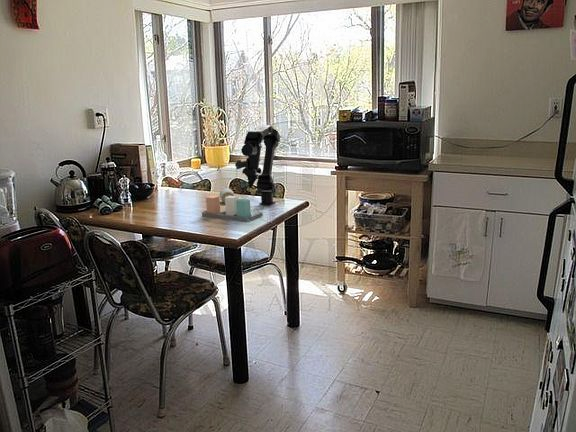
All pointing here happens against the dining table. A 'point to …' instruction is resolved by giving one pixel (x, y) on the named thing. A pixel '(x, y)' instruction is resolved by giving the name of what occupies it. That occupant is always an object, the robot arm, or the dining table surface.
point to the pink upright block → (213, 204)
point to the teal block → (243, 208)
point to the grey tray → (234, 217)
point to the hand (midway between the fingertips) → (250, 188)
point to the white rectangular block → (231, 205)
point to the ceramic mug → (226, 194)
